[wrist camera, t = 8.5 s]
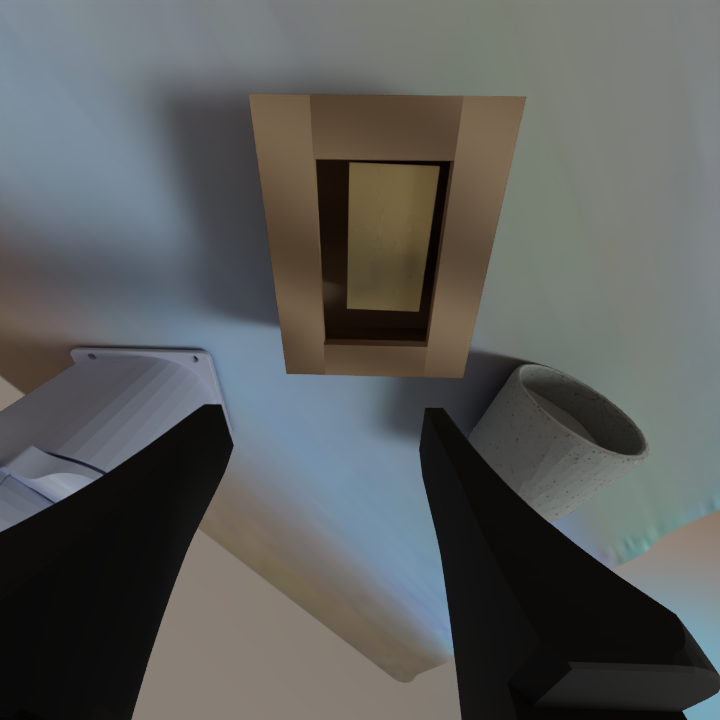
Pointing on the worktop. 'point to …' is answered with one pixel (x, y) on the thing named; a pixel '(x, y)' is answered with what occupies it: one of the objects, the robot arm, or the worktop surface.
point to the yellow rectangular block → (389, 234)
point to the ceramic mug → (556, 440)
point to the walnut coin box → (331, 215)
